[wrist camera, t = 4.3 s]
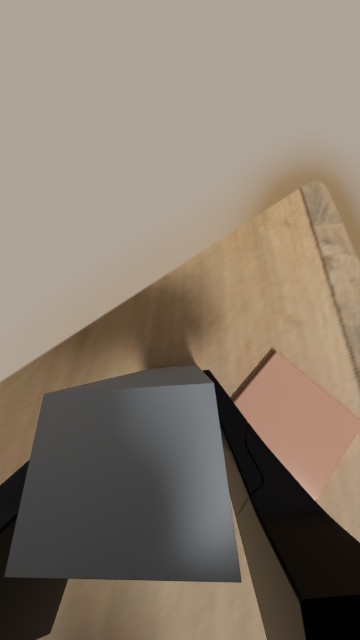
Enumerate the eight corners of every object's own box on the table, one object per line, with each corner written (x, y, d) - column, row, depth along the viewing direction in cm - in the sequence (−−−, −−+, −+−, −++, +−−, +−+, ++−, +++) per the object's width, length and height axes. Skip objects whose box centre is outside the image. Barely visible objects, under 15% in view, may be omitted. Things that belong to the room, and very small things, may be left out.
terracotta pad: (358, 420, 12) (364, 422, 12) (305, 505, 11) (309, 510, 11) (275, 351, 15) (277, 351, 14) (222, 413, 13) (223, 415, 13)
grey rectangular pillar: (200, 398, 14) (241, 582, 2) (154, 401, 14) (4, 576, 3) (196, 364, 15) (213, 383, 4) (154, 367, 15) (43, 394, 4)
